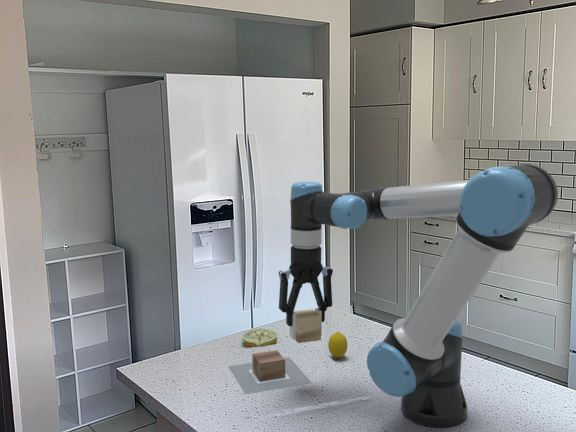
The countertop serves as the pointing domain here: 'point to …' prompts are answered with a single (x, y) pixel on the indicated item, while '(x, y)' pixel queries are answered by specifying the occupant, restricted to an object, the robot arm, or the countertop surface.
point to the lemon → (337, 344)
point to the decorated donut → (259, 338)
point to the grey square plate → (253, 384)
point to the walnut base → (268, 365)
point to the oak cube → (307, 326)
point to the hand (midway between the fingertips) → (305, 335)
